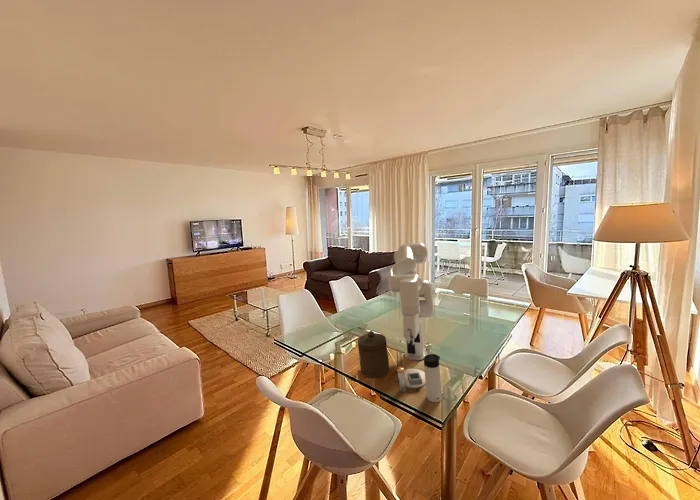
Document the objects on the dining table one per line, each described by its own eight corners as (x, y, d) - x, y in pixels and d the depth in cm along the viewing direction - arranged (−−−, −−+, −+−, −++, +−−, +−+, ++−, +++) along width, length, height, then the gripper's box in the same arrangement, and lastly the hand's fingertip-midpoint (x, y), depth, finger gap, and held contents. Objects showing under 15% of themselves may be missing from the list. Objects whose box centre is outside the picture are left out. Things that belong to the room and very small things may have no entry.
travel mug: (442, 406, 117) (439, 361, 114) (426, 403, 119) (422, 359, 116) (443, 396, 122) (440, 353, 120) (427, 394, 125) (424, 352, 122)
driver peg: (399, 388, 129) (395, 367, 127) (406, 387, 129) (403, 365, 127) (400, 393, 126) (397, 371, 124) (408, 392, 126) (404, 370, 124)
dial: (397, 373, 141) (396, 365, 140) (422, 370, 141) (422, 362, 140) (402, 389, 128) (401, 381, 127) (430, 386, 128) (430, 378, 127)
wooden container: (371, 361, 157) (367, 324, 154) (395, 368, 147) (391, 329, 144) (355, 375, 146) (350, 335, 143) (379, 384, 136) (374, 341, 133)
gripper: (406, 301, 125) (409, 337, 128) (396, 316, 110) (400, 357, 112) (423, 301, 122) (426, 339, 125) (415, 317, 107) (419, 359, 109)
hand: (414, 347), depth 118 cm, fingers open, 9 cm apart
